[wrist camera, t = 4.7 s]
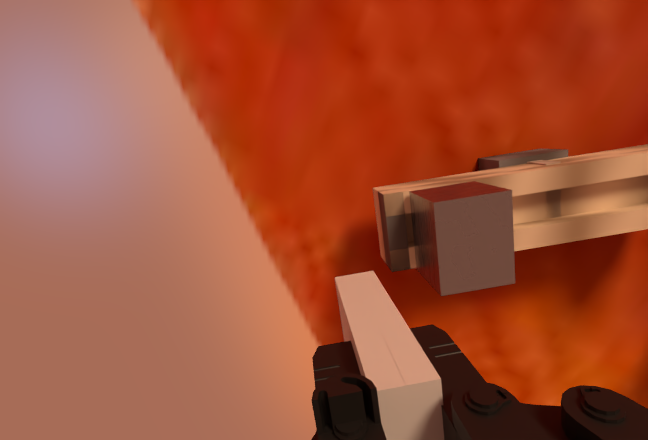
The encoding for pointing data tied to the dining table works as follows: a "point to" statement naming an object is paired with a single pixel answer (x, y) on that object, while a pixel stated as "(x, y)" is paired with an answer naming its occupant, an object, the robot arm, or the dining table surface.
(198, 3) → the dining table surface
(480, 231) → the block
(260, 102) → the dining table surface
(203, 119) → the dining table surface
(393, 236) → the beam
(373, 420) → the robot arm
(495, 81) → the dining table surface
